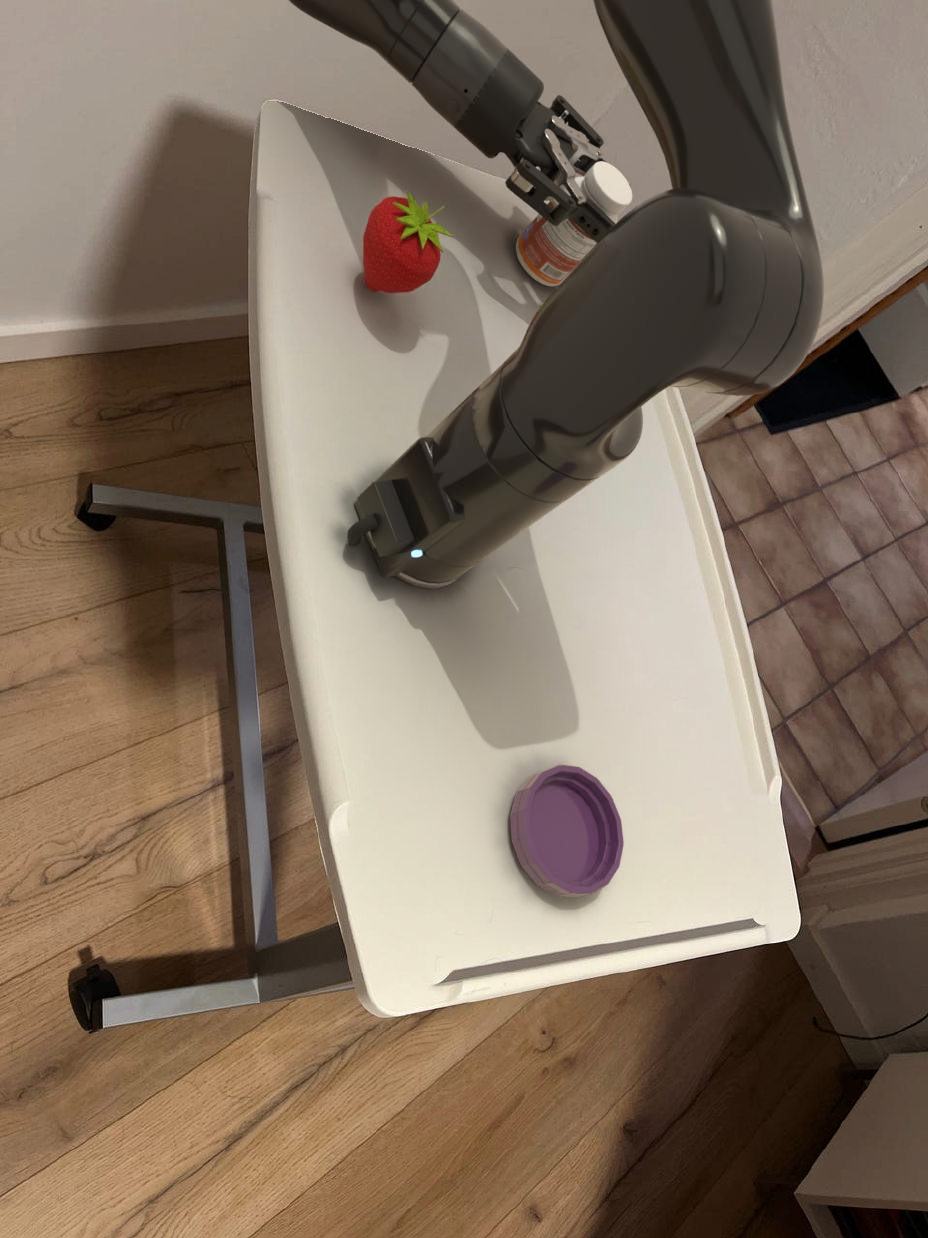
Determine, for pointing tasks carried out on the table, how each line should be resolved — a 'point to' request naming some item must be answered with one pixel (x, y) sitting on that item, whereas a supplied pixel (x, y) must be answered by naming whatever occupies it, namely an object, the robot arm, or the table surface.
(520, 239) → the pill bottle
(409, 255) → the strawberry
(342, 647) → the table surface
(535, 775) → the plum lid
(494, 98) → the robot arm
